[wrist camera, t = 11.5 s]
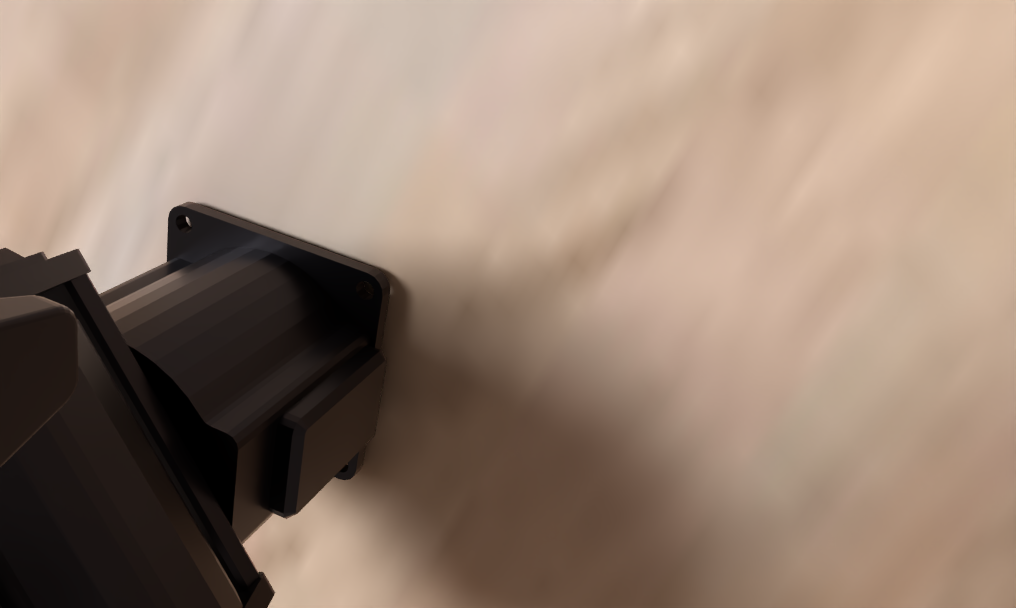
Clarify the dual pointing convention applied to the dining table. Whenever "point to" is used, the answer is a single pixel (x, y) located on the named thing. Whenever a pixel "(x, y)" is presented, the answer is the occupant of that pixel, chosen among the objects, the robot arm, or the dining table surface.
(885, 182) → the dining table surface
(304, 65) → the dining table surface
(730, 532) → the dining table surface
